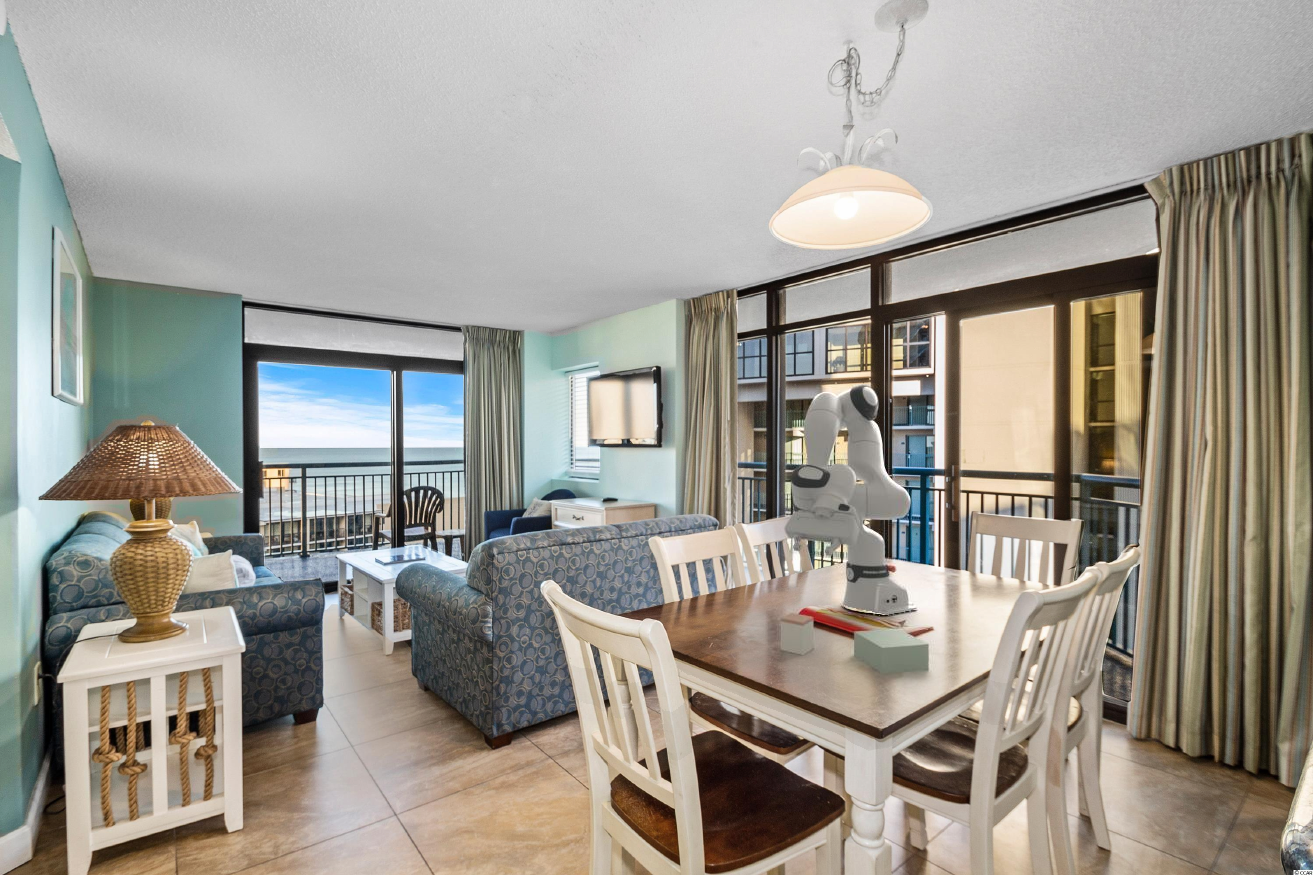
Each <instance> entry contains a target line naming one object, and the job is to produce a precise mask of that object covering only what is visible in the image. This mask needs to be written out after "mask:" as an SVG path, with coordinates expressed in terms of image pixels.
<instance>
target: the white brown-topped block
mask: <svg viewBox="0 0 1313 875" xmlns="http://www.w3.org/2000/svg"><path fill="white" fill-rule="evenodd" d="M780 650H781V651H783V652H788V653H792V654H797V655H801V656H804V655H805V654H807V653H809V652H810V651H812V650H814V617H813V616H811V615H810V616H809V615H805V614H798V613H795V612H790V613H789V614H787V615H784V616H783V617H781V618H780Z"/></svg>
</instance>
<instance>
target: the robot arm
mask: <svg viewBox="0 0 1313 875" xmlns="http://www.w3.org/2000/svg"><path fill="white" fill-rule="evenodd" d="M878 410H879V398H878V395H877V392H876V390H874V389H873V388H872V387H871V386H870V385H867V384H863V383H862V384H858V385H855V386H852V387H851V388H850V389H847V390H845V391H843V392H842V393H840V394H838V395H836V394H835V393H833V392H829V391H827V392H826V391H824V392H820V393H819V394H816V396H814V398H813V400H812V401H811V403H810V405H809V406H808V409H807V412H806V415H805V419H804V423H803V439H804V444H805V445H804V446H805V452H806V462H807V463H806V464H802V465H800V466H798V467H796V468H794V470H792V472H791V474H790V477H789V478H790V486H791V494H792V495H791V496H792V508H793V511H794V512H793V513H792V514H791V516H790V518H789V519H788V521H787V523H786V524H785V526H784V532H785V534H786V535H787V537H788V538H789V539H793V541H794V543H793V545H792V549H793V551H794V552H795V551H796V552H800V551H801V549H802V547H803V546H802V545H801V543H800V542H802V541H804V540H805V541H811V542H812V541H813V542H818V543H819V542H821V543H829V544H831V545H829V546H827V545H826V547H825V550H824V553H825V555H826V556H833V554H834V552H835V551H836V550H837V549H839V548H840V547H841V545H846V546H847V561H846V564H845V575H846V576H845V577H846V586H845V592H844V593H845V594H844V598H843V601H842V604H843V605H845V606H848V607H852V608H856V609H861V610H866V611H872V612H875V613H881V614H885V615H888V616H890V615H889V614H893V615H895V614H894V613H899V612H904V611H909V612H911V611H910V610H914V609H917V608H918V607H917V606H916V605H915V604H914V603H912V602H911V601H909V594H908V592H907V589H906V587H904V585H901V583H900V582H898V581H897V580H896V579H895V578H893V577H892V576H891V574H890V572H891V573H896V571H897V567H896V566H895V565H892V564H889V565H888V564H887V563H885V560H886V559H885V558H886V557H885V556H886V555H885V554H886V551H885V549H886V545H885V544H886V543H885V540H884V538H883V536H882V535H881V534H879V532H876V531H874V530H873V529H871V528H869V527H867V526H866V525H865V524H864V521H865V520H879V521H881V520H883V521H885V520H887V521H890V520H897V519H901V518H902V519H903V518H904V517H905V516H907V514H908V513H909V511H910V508H911V497H910V495H909V492H908V491H907V490H906V489H905V488H904V487H903V486H901V485H899V484H898V483H896V481H894V480H893V479H892V478H891V477H890V476H889V474H888V473H887V471H886V468H885V463H884V454H883V441H882V436H881V431H880V427H879V426H878V424H877V423H876V422H875V419H876V418H877V416H878ZM845 429H846V430H847V432H848V433H847V434H848V436H847V449H846V451H847V459H846V460H847V465H846V464H844V463H834V464H832V465H829V463H830V459H831V456H832V453H833V451H834V446H835V444H836V441H837V438H838V435H839V432H841V431H842V430H845ZM857 480H858V481H861V482H863V483H857ZM917 610H918V609H917ZM904 613H905V612H904ZM899 614H900V613H899Z"/></svg>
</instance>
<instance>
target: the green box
mask: <svg viewBox="0 0 1313 875" xmlns="http://www.w3.org/2000/svg"><path fill="white" fill-rule="evenodd" d="M853 644H854V645H853V646H854V647H853V650H854V651H853V655H854V657H856V658H857V659H859V660H861V661H862V662H863V663H865V664H867V665H868V666H870V667H871V668H873V669H874V670H875V671H877V672H879V674H882V675H884V674H886V675H887V674H895V673H906V672H908V673H909V672H920V671H928V670H930V669H929V668H930V667H929V665H930V664H929V660H930V658H929V657H930V656H929V654H930V653H929V652H930V651H929V650H930V648H929V647H930V646H929V645H930V644H929V643H928V642H926V641H924V640H922V639H920V638H917V636H913V635H911V634H909V633H908V632H906V631H904V630H902V629H899V628H887V629H873V630H860V631H859V630H858V631H857V630H855V631H854V633H853Z"/></svg>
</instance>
